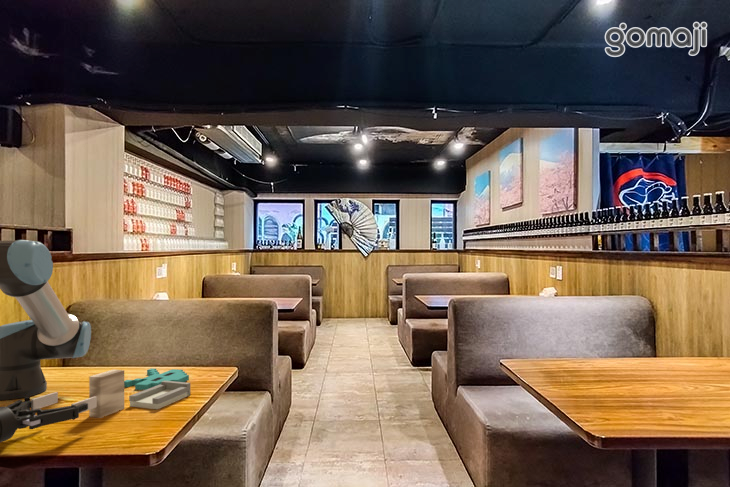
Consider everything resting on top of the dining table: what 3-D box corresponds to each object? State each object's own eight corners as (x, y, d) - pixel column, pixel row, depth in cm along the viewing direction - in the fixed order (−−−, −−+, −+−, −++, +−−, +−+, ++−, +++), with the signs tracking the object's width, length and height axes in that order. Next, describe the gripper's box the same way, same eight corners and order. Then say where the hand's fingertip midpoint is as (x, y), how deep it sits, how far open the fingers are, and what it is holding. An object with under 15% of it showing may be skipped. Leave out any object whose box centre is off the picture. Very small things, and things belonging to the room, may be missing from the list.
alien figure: (111, 389, 154) (165, 392, 150) (111, 383, 154) (165, 385, 150) (151, 374, 174) (199, 376, 170) (151, 368, 174) (199, 370, 170)
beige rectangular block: (89, 416, 127) (89, 376, 127) (113, 407, 135) (113, 369, 135) (100, 418, 126) (100, 377, 126) (124, 408, 133) (124, 370, 134)
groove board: (129, 406, 135) (129, 393, 135) (164, 392, 149) (164, 380, 149) (158, 409, 132) (158, 396, 132) (191, 395, 145) (191, 382, 145)
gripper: (-51, 439, 105) (41, 409, 125) (28, 453, 97) (112, 418, 117) (-51, 406, 105) (41, 381, 125) (28, 417, 97) (112, 388, 117)
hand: (76, 399), depth 121 cm, fingers open, 13 cm apart
